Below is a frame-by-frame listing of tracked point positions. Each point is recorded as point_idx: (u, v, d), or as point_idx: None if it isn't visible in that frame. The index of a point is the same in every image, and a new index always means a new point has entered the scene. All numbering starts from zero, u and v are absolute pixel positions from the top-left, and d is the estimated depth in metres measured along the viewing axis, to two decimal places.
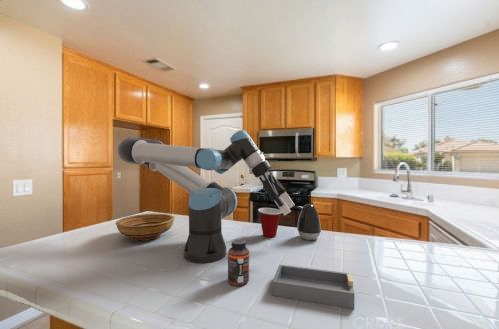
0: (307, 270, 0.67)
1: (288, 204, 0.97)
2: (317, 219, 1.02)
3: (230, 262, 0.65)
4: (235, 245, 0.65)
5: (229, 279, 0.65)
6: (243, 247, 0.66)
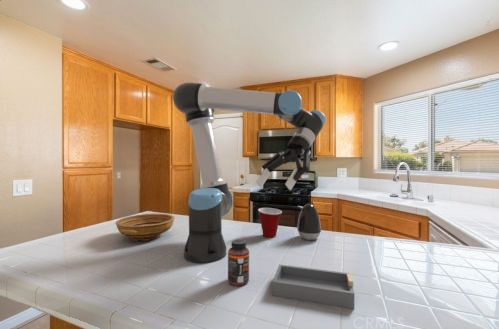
0: (307, 270, 0.67)
1: (260, 179, 0.84)
2: (317, 219, 1.02)
3: (230, 262, 0.65)
4: (235, 245, 0.65)
5: (229, 279, 0.65)
6: (243, 247, 0.66)
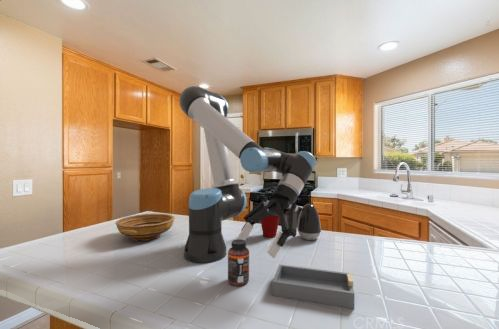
0: (307, 270, 0.67)
1: (241, 236, 0.73)
2: (317, 219, 1.02)
3: (230, 262, 0.65)
4: (235, 245, 0.65)
5: (229, 279, 0.65)
6: (243, 247, 0.66)
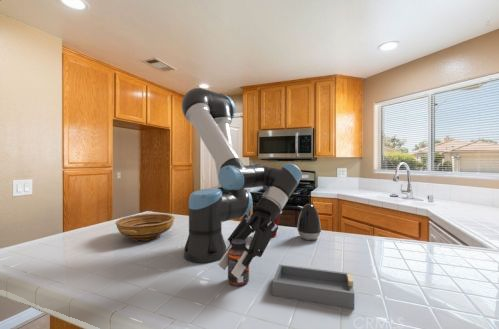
0: (307, 270, 0.67)
1: (223, 261, 0.67)
2: (317, 219, 1.02)
3: (230, 262, 0.65)
4: (235, 245, 0.65)
5: (229, 279, 0.65)
6: (243, 247, 0.66)
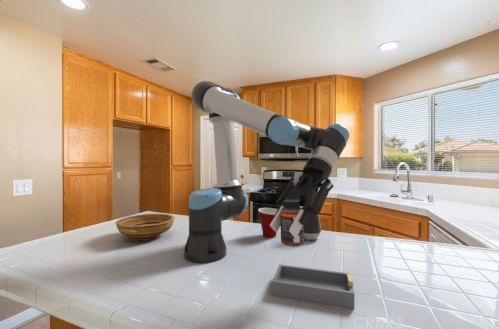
0: (307, 270, 0.67)
1: (275, 222, 0.63)
2: (317, 219, 1.02)
3: (284, 221, 0.60)
4: (289, 203, 0.61)
5: (283, 240, 0.61)
6: (298, 205, 0.61)
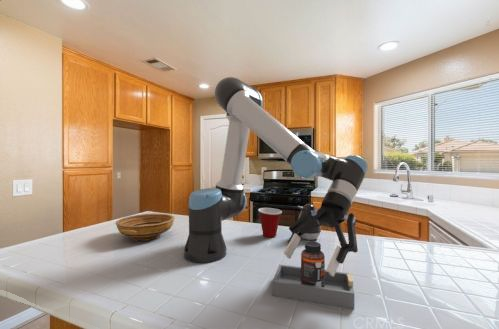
0: None
1: (289, 250, 0.66)
2: (317, 219, 1.02)
3: (306, 266, 0.60)
4: (311, 248, 0.60)
5: None
6: (319, 250, 0.61)
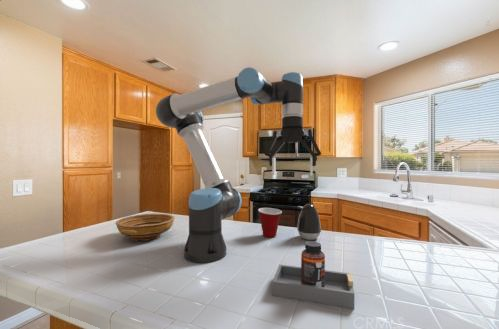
0: None
1: (274, 170, 0.88)
2: (317, 219, 1.02)
3: (306, 266, 0.60)
4: (311, 248, 0.60)
5: None
6: (320, 250, 0.61)
